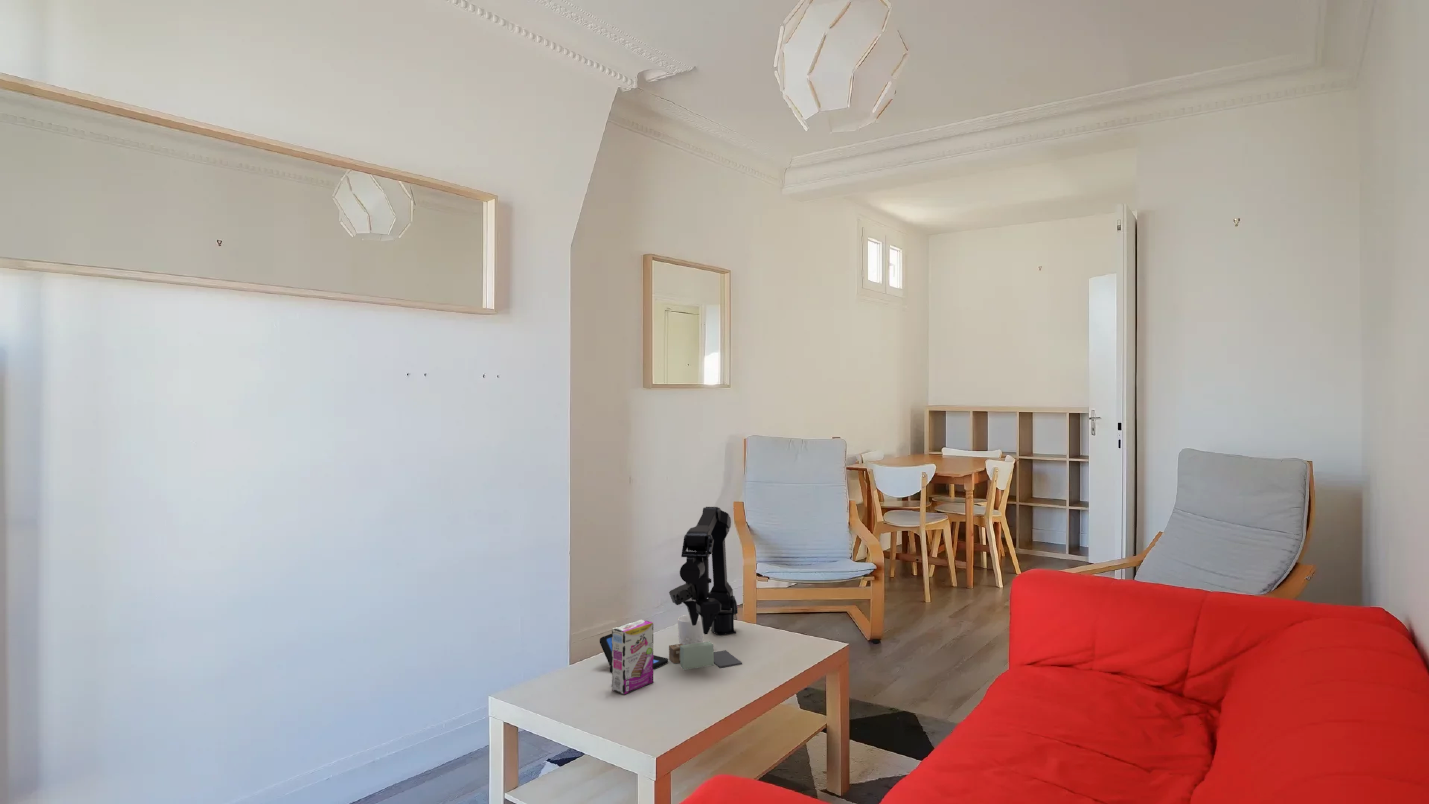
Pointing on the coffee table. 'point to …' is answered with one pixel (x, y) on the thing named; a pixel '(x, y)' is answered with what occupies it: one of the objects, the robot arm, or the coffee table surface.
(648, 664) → the candy bar box
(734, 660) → the dark gray panel
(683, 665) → the sage rectangular block
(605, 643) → the game console
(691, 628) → the white cup
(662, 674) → the coffee table surface
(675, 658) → the letter block
